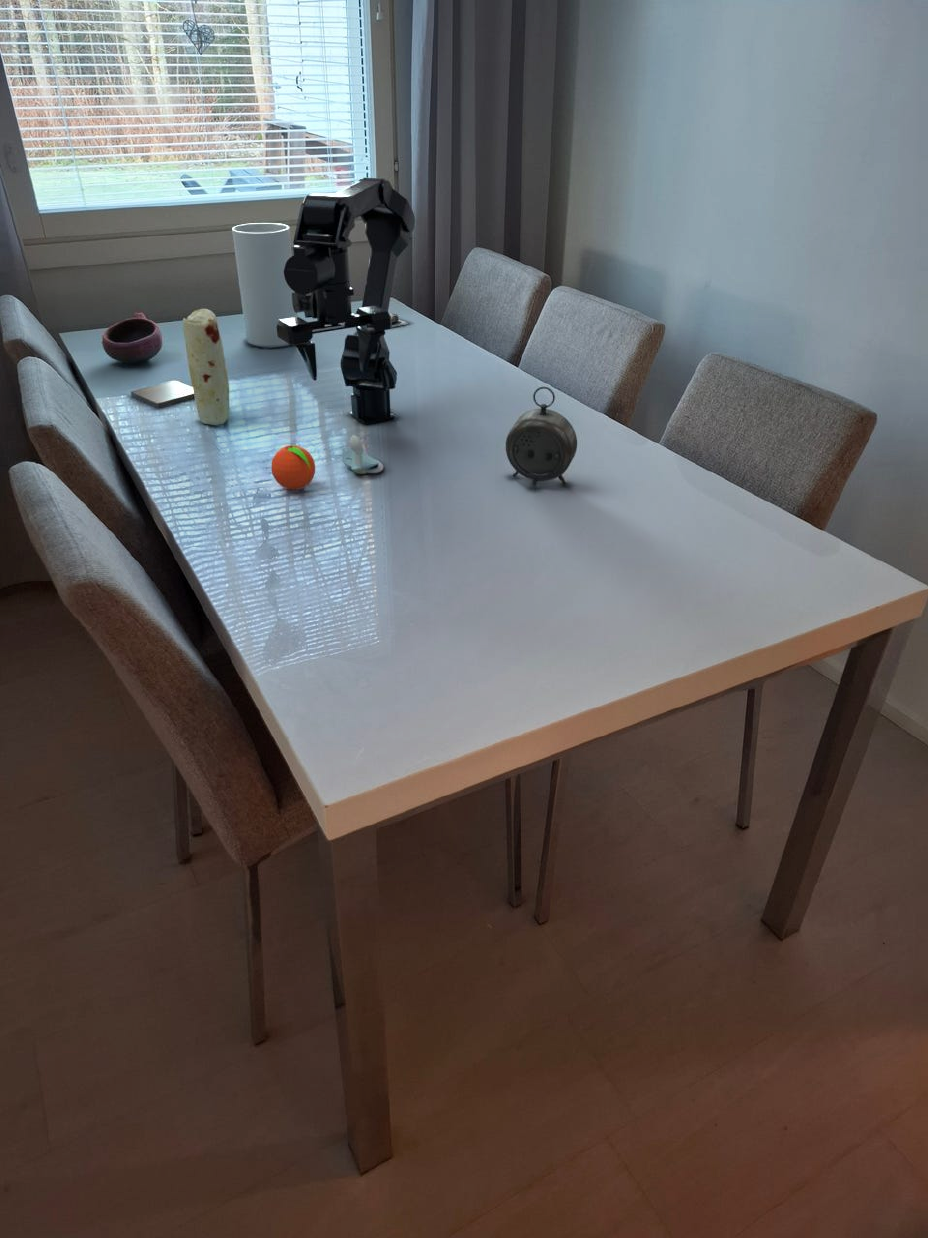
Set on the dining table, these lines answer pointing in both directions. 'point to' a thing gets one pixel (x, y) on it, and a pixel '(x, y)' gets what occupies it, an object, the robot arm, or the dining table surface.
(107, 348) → the bowl
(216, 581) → the dining table surface
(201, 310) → the food model
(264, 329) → the cylinder vase
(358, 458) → the pacifier
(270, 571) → the dining table surface
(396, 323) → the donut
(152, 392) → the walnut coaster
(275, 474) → the clementine
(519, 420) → the alarm clock
